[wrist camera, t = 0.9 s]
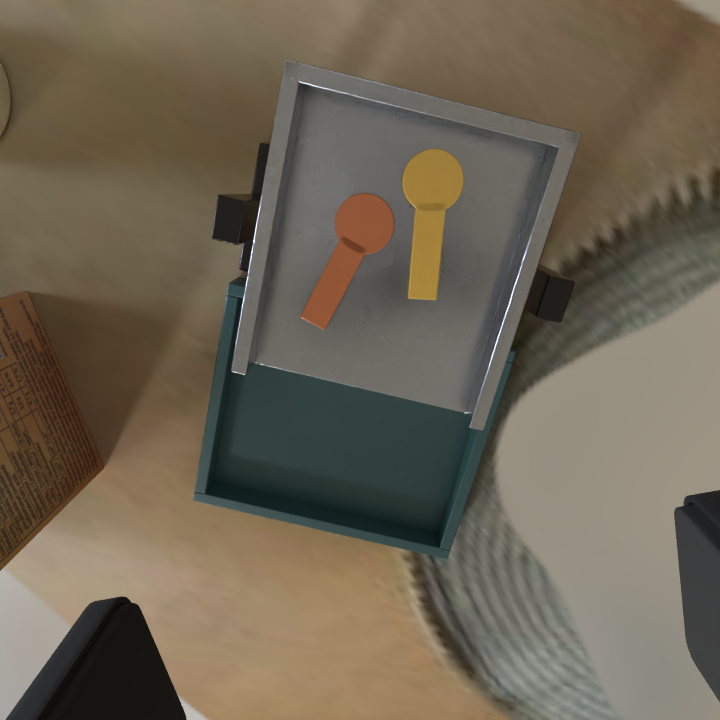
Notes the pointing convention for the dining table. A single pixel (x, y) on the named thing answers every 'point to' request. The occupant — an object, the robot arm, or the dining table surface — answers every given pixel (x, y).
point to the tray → (336, 452)
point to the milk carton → (36, 431)
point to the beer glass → (4, 99)
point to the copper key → (349, 252)
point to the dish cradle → (240, 223)
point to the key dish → (398, 240)
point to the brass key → (429, 214)
